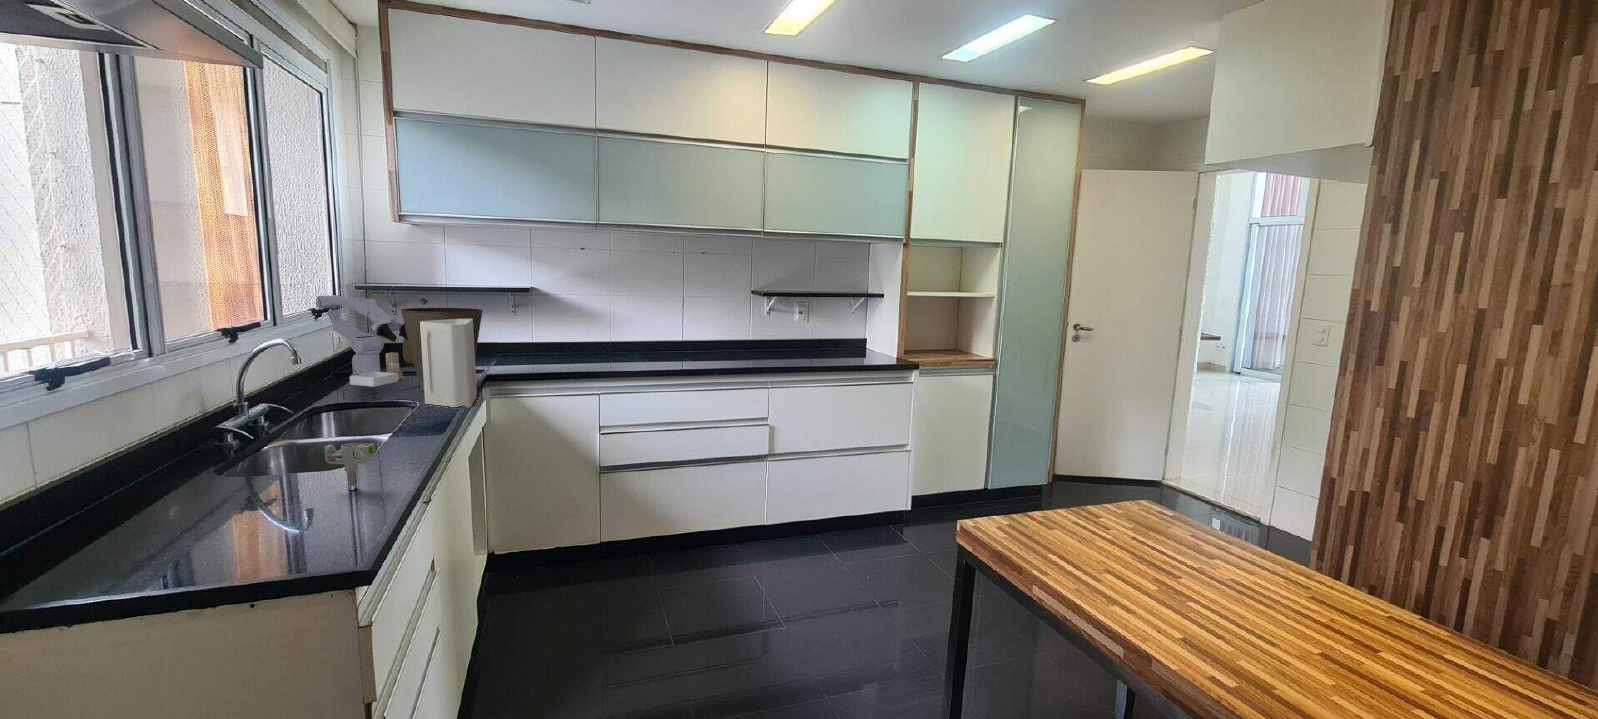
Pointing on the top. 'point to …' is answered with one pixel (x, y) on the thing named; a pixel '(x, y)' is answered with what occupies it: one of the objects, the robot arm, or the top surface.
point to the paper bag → (448, 362)
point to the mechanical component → (350, 457)
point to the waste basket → (417, 315)
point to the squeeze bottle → (407, 352)
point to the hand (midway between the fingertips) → (403, 339)
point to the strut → (393, 364)
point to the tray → (374, 379)
